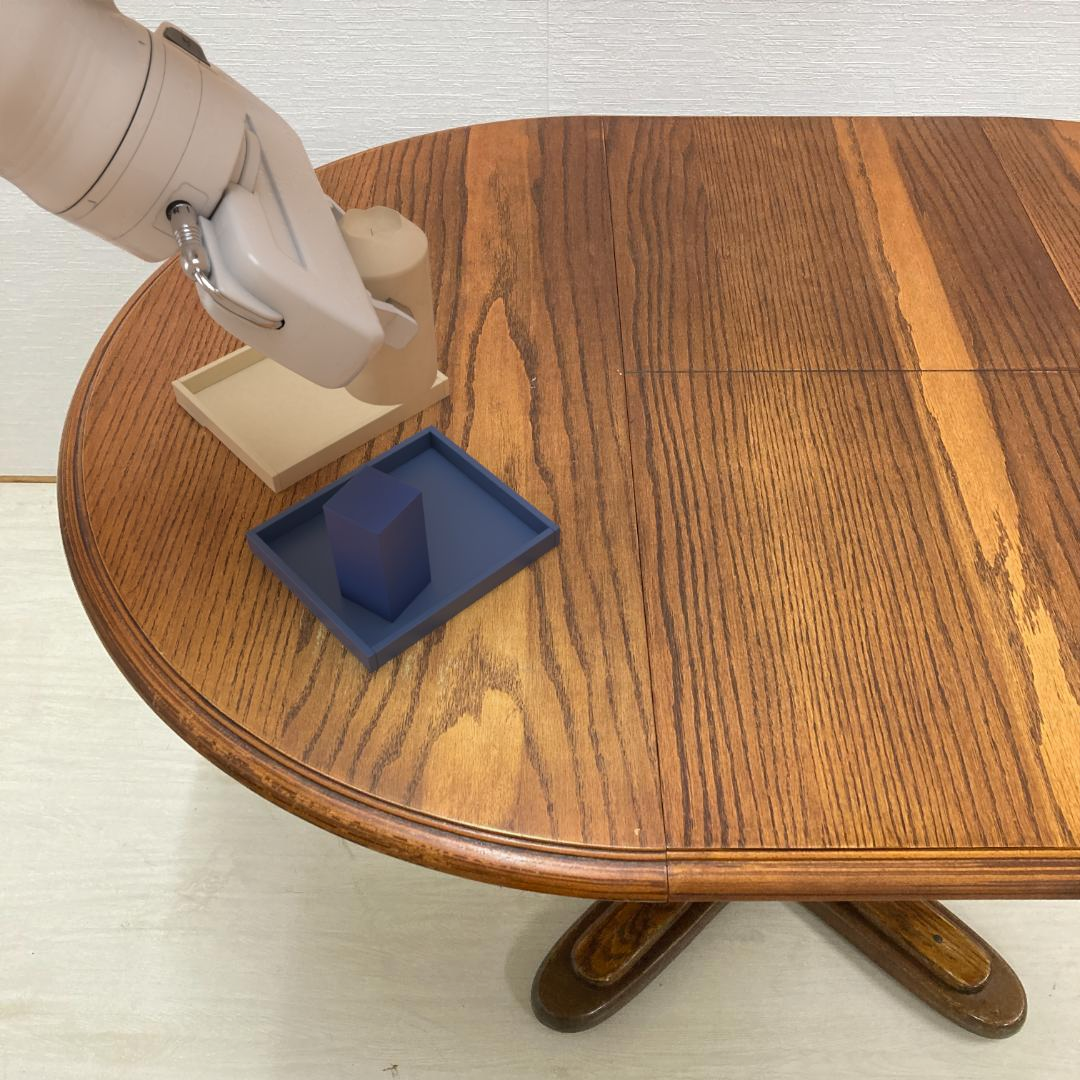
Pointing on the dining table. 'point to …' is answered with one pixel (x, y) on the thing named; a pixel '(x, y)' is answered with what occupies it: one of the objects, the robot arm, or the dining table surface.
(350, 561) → the blue peg
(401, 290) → the candle
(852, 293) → the dining table surface
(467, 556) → the blue tray
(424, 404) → the cream tray
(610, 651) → the dining table surface
